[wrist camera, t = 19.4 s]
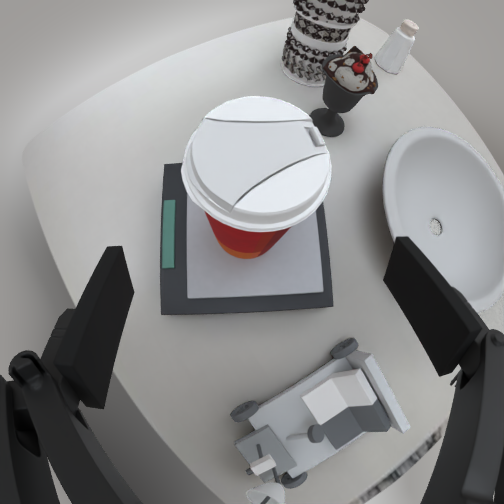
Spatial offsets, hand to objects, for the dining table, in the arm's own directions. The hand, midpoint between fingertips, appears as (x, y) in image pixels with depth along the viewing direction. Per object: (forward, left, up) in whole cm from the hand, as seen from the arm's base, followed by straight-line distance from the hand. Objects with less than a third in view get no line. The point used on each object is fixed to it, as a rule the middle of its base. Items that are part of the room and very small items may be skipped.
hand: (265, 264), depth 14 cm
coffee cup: (0, +6, -15) cm, 16 cm away
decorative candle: (+11, +33, -19) cm, 39 cm away
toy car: (+6, -15, -19) cm, 25 cm away
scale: (0, +6, -18) cm, 19 cm away
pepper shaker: (+27, +38, -19) cm, 50 cm away
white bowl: (+26, +7, -19) cm, 33 cm away
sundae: (+12, +22, -19) cm, 31 cm away
